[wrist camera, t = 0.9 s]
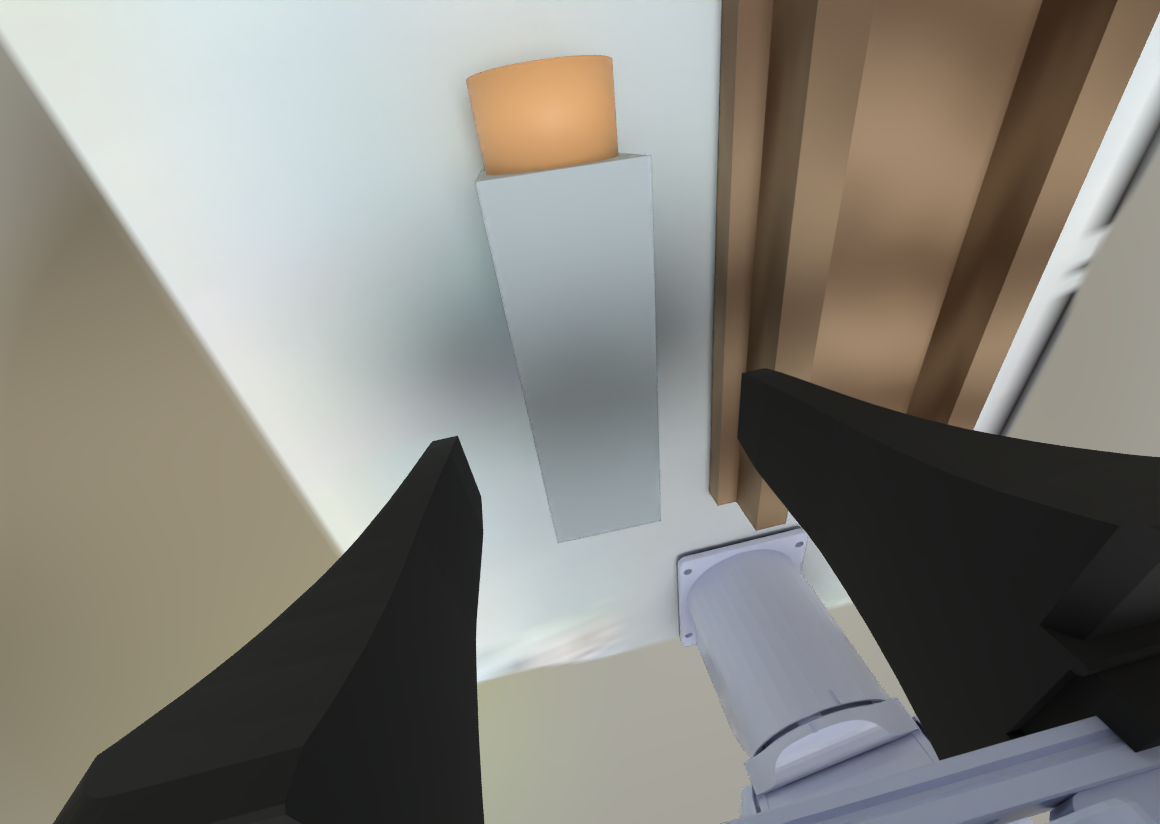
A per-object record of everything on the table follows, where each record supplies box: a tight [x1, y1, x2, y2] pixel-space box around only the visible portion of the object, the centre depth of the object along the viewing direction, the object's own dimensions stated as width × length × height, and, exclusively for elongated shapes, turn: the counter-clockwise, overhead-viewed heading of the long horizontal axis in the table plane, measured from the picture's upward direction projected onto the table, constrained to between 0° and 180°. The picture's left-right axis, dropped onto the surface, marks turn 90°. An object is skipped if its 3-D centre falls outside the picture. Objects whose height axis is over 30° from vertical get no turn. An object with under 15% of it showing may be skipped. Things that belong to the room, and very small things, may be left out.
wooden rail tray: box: [710, 0, 1160, 531], centre depth 16 cm, size 21×12×3 cm, turn 9°
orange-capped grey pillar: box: [466, 55, 661, 543], centre depth 14 cm, size 14×4×5 cm, turn 7°
